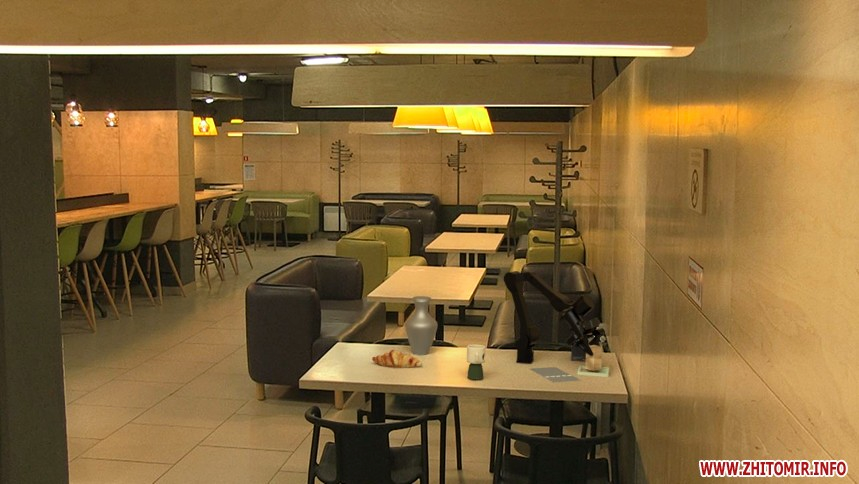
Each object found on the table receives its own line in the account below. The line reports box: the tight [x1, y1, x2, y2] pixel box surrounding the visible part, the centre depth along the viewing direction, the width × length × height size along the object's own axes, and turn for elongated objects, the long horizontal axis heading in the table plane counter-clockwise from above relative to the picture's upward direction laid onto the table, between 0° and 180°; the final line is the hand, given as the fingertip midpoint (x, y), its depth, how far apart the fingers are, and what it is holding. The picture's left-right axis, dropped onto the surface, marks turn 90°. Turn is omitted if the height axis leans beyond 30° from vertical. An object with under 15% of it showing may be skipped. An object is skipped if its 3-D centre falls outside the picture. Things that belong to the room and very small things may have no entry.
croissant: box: [371, 349, 423, 369], centre depth 348 cm, size 21×10×8 cm, turn 81°
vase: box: [404, 295, 438, 356], centre depth 370 cm, size 14×14×25 cm
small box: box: [570, 341, 586, 362], centre depth 368 cm, size 11×6×10 cm, turn 168°
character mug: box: [466, 344, 486, 381], centre depth 329 cm, size 11×7×13 cm, turn 1°
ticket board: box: [529, 366, 582, 383], centre depth 333 cm, size 22×12×2 cm, turn 19°
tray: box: [577, 364, 610, 378], centre depth 338 cm, size 12×12×2 cm
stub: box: [585, 345, 603, 372], centre depth 338 cm, size 4×5×9 cm
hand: (596, 354), depth 337 cm, fingers closed on stub, 5 cm apart
